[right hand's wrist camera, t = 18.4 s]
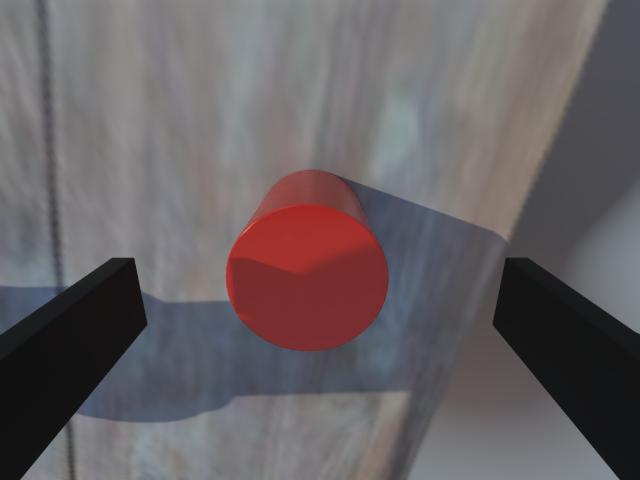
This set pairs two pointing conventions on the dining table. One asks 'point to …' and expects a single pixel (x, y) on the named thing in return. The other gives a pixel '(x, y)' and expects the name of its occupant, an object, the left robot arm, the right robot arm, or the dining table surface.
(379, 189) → the dining table surface
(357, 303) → the tin
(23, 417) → the right robot arm
